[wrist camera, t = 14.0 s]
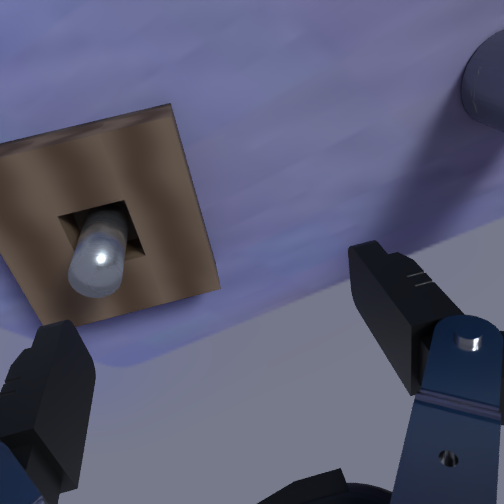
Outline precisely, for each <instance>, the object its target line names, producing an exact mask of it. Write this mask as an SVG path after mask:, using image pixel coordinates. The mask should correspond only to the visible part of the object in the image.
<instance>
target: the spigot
mask: <svg viewBox="0 0 504 504" xmlns="http://www.w3.org/2000/svg"><path fill="white" fill-rule="evenodd" d="M129 221H130V215H129V212H128V209H127V208H126V207H125V205H124V204H122V203H121V202H119V201H118V202H114V203H110V204H106V205H102V206H97V207H93V208H89V210H88V213H87V216H86V219H85V222H84V225H83V228H82V231H81V234H80V237H79V240H78V243H77V246H76V249H75V252H74V255H73V258H72V261H71V264H70V267H69V270H68V280H69V283H70V285H71V286H72V287H73V289H74V290H75V291H77V292H78V293H80V294H82V295H84V296H87V297H91V298H101V297H106V296H108V295H111V294H112V293H114V292H115V291H116V290H117V289H118V288H119V286H120V284H121V282H122V275H123V267H124V260H125V252H126V244H127V237H128V229H129Z"/></svg>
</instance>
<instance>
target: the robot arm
mask: <svg viewBox="0 0 504 504" xmlns="http://www.w3.org/2000/svg"><path fill="white" fill-rule="evenodd" d="M461 96H462V101H463V105H464V107H465V109H466V111H467V113H468V114H469V115H470V116H471V117H472V118H473V119H475V120H477V121H479V122H481V123H484V124H486V125H489V126H491V127H493V128H496V129H498V130H500V131H503V132H504V30H502V31H499V32H497V33H495V34H494V35H493V36H491V37H490V38H488V39H487V40H486V41H485V42H484V43H483V44H482V45H481V46H480V47H479V48H478V49H477V51H476V52H475V53H474V55H473V56H472V58H471V60H470V61H469V63H468V65H467V67H466V70H465V73H464V76H463V80H462V86H461ZM348 258H349V270H350V282H351V292H352V296H353V300H354V303H355V305H356V307H357V309H358V311H359V313H360V314H361V316H362V318H363V319H364V321H365V323H366V324H367V326H368V327H369V329H370V331H371V332H372V334H373V336H374V337H375V339H376V340H377V342H378V344H379V345H380V347H381V349H382V350H383V352H384V353H385V355H386V357H387V358H388V360H389V362H390V363H391V365H392V366H393V368H394V370H395V371H396V373H397V375H398V376H399V378H400V379H401V381H402V383H403V384H404V386H405V388H406V389H407V391H408V392H409V394H410V396H412V395H415V399H414V403H413V407H412V411H411V415H410V420H409V424H408V428H407V433H406V437H405V441H404V445H403V450H402V454H401V458H400V462H399V467H398V471H397V475H396V479H395V484H394V488H393V492H391V491H388V490H386V489H383V488H380V487H376V486H372V485H368V484H360V483H346V481H345V478H344V475H343V473H342V470H341V468H339V469H336V470H332V471H329V472H325V473H322V474H318V475H315V476H311V477H308V478H305V479H301V480H298V481H295V482H293V483H291V484H289V485H288V486H286V487H284V488H283V489H281V490H279V491H277V492H276V493H274V494H272V495H271V496H269V497H268V498H266V499H264V500H262V501H261V502H259V503H258V504H496V500H497V484H498V483H497V482H498V466H499V446H500V429H501V425H504V331H499V329H498V328H496V326H494V325H493V324H492V323H490V322H489V321H487V320H485V319H482V318H479V317H477V316H472V315H465V314H464V313H463V312H462V311H461V310H460V309H459V308H458V307H457V306H456V305H455V304H454V303H453V302H452V301H451V300H450V298H449V297H448V296H447V295H446V294H445V293H444V292H443V291H442V290H441V289H440V288H439V287H438V286H437V284H436V283H434V282H432V279H431V278H430V277H429V276H428V275H427V274H426V273H424V271H423V270H422V268H421V267H420V266H419V265H418V264H417V263H416V262H415V261H414V260H413V259H411V258H409V257H407V256H405V255H403V254H400V253H398V252H396V253H392V254H387V252H386V251H385V250H384V249H383V248H382V247H381V245H380V244H379V243H378V242H377V241H376V240H373V241H369V242H365V243H361V244H357V245H354V246H350V247H349V249H348ZM95 379H96V374H95V367H94V363H93V360H92V357H91V356H90V354H89V352H88V350H87V348H86V346H85V344H84V343H83V341H82V339H81V337H80V335H79V333H78V332H77V330H76V328H75V326H74V324H73V323H72V322H71V321H70V320H68V319H67V320H63V321H59V322H56V323H52V324H48V325H44V326H41V327H39V328H38V330H37V333H36V336H35V339H34V341H33V344H32V347H31V348H28V349H25V350H23V352H22V353H21V354H20V355H19V356H18V358H17V359H16V360H15V361H14V363H13V364H12V365H11V367H10V369H9V372H8V374H7V377H6V380H5V384H4V385H3V387H2V390H1V392H0V504H58V499H59V494H60V493H63V492H67V491H70V490H74V489H77V488H78V482H79V476H80V470H81V464H82V458H83V452H84V446H85V440H86V434H87V427H88V422H89V415H90V410H91V404H92V398H93V392H94V386H95Z"/></svg>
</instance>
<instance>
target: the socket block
mask: <svg viewBox="0 0 504 504" xmlns="http://www.w3.org/2000/svg"><path fill="white" fill-rule="evenodd" d="M118 201H119V202H121V203H122V204H124V205H125V207H126V208H127V209H128V212H129V215H130V221H129V229H128V237H127V244H126V252H125V260H124V267H123V275H122V282H121V284H120V286H119V288H118V289H117V290H116V291H115V292H114V293H112V294H111V295H108V296H106V297H101V298H91V297H87V296H84V295H82V294H80V293H78V292H77V291H75V290H74V289H73V287H72V286H71V285H70V283H69V280H68V270H69V267H70V264H71V261H72V258H73V255H74V252H75V249H76V246H77V243H78V240H79V237H80V234H81V231H82V228H83V225H84V222H85V219H86V216H87V213H88V210H89V208H93V207H97V206H102V205H106V204H110V203H114V202H118ZM0 254H1V255H2V257H3V259H4V260H5V262H6V264H7V265H8V267H9V269H10V270H11V272H12V274H13V275H14V277H15V279H16V281H17V282H18V284H19V286H20V287H21V289H22V291H23V292H24V294H25V296H26V297H27V299H28V301H29V302H30V304H31V306H32V308H33V309H34V311H35V313H36V314H37V316H38V318H39V319H40V321H41V323H42V324H43V326H44V325H48V324H52V323H56V322H59V321H63V320H67V319H68V320H70V321H71V322H72V323H73V324H74V326H75V327H77V326H81V325H85V324H89V323H92V322H96V321H100V320H104V319H108V318H112V317H115V316H119V315H123V314H127V313H131V312H134V311H138V310H142V309H146V308H150V307H153V306H157V305H161V304H165V303H169V302H173V301H176V300H180V299H184V298H188V297H192V296H195V295H199V294H203V293H207V292H211V291H215V290H218V289H221V287H220V283H219V278H218V273H217V268H216V263H215V259H214V256H213V252H212V249H211V245H210V242H209V238H208V235H207V231H206V227H205V224H204V220H203V217H202V213H201V210H200V206H199V203H198V199H197V195H196V192H195V188H194V185H193V181H192V178H191V174H190V171H189V167H188V163H187V160H186V156H185V153H184V149H183V146H182V142H181V139H180V135H179V131H178V128H177V124H176V121H175V117H174V114H173V110H172V107H171V103H169V104H165V105H160V106H156V107H152V108H148V109H144V110H139V111H135V112H131V113H127V114H123V115H118V116H114V117H110V118H106V119H102V120H97V121H93V122H89V123H85V124H81V125H76V126H72V127H68V128H64V129H59V130H55V131H51V132H47V133H43V134H38V135H34V136H30V137H26V138H22V139H17V140H13V141H9V142H5V143H1V144H0Z"/></svg>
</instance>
